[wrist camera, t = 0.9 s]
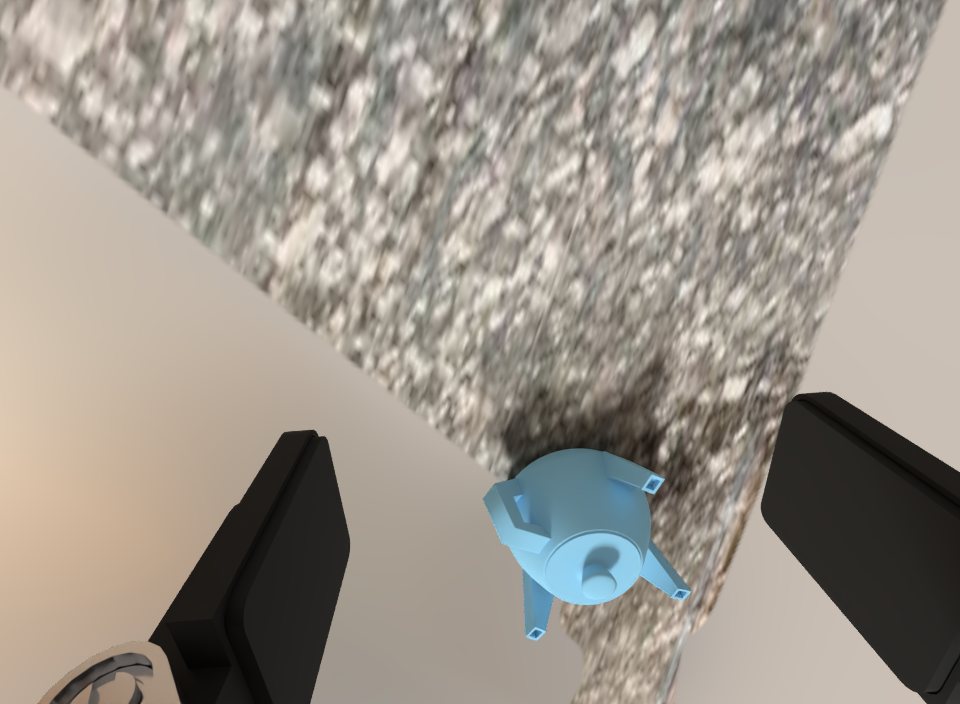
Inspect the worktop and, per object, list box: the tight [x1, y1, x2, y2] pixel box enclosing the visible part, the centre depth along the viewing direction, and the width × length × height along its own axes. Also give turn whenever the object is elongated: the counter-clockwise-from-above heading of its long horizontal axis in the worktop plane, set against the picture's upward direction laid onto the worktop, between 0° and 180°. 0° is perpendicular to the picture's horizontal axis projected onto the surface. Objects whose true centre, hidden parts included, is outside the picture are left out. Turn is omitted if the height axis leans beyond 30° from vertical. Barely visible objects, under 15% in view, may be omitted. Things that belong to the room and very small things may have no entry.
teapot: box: [483, 448, 691, 641], centre depth 41 cm, size 15×15×11 cm
